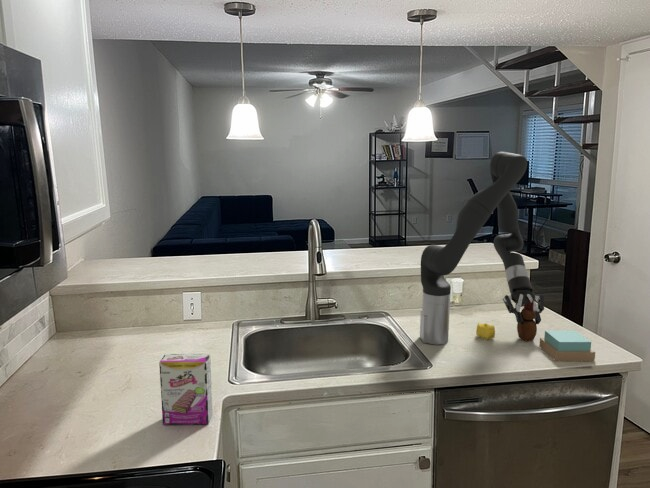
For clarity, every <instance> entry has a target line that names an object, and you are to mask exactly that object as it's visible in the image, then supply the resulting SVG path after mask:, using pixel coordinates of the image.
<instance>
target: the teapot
mask: <svg viewBox="0 0 650 488" xmlns="http://www.w3.org/2000/svg"><path fill="white" fill-rule="evenodd" d="M475 329H476V331H475V334H476V336H478V339H479V338H480V339H483V341H487V340H493V339H495V338H496V337H495V336H496V329H495V325H491V324H489V323H477V325H476V328H475Z"/></svg>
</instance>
